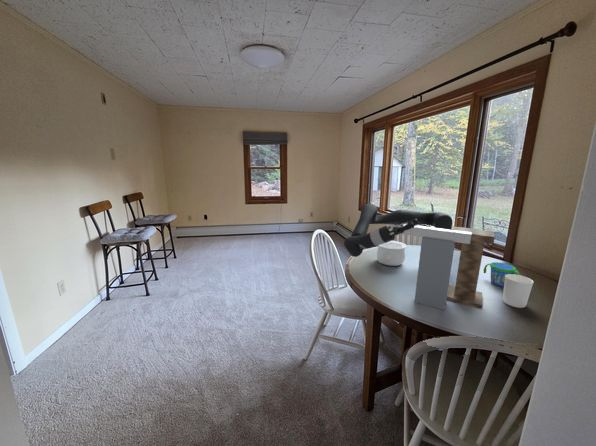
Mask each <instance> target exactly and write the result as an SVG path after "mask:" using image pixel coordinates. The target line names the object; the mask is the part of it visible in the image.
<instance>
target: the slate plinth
mask: <svg viewBox="0 0 596 446" xmlns="http://www.w3.org/2000/svg"><path fill="white" fill-rule="evenodd" d="M455 244H456V242H452V241H445V240H438V239H431V238H425V237H421V244H420V253H419V260H418V268H417V276H416V285H415V286H416V287H415V295H414V302H415V303H416V304H420V305H425V306H428V307H431V308H436V309H439V310H442V311H445V309H446V304H447V301H448V300H447V293H448V286H449V285H450V279H451V272H452V266H453V265H452V264H453V258H454V251H455Z"/></svg>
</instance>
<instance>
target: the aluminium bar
mask: <svg viewBox="0 0 596 446" xmlns="http://www.w3.org/2000/svg"><path fill="white" fill-rule="evenodd" d="M404 225H407V224H404ZM404 225H403V226H404ZM401 235H406V236H413V237H418V238H423V237H425V238H431V239H438V240H445V241H452V242H455V243H460V244H462V243H465V244H470V241H471V235H472V232H465V231H457V230H449V229H441V228H435V227H434V226H426V225H414V228H411V229H409V230H406V231H405V232H403V233H401Z"/></svg>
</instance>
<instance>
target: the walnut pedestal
mask: <svg viewBox="0 0 596 446" xmlns="http://www.w3.org/2000/svg"><path fill="white" fill-rule="evenodd" d="M451 230H457V231H465V232H472V235H471V241H470V244H465V243H461V248H460V255H459V259H458V260H459V261H458V267H457V272H456V280H455V285H450V284H449V286H448V293H447V300H446V301H452V302H455V303H460V304H463V305H467V306H471V307H474V308H479V309H483V292H480V291H477V287H478V282H479V281H478V280H479V276H480V270H481V264H482V259H483V253H484V246H485V244H491V245H494V242H495V239H496V238H495V233H494V230H489V229H487V230H485V229H479V228H478V229H477V228H469V227H462V226H454V225H452V228H451Z"/></svg>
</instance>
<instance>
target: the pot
mask: <svg viewBox="0 0 596 446" xmlns="http://www.w3.org/2000/svg"><path fill="white" fill-rule="evenodd" d="M377 246H378V247H377V251H376V259H377V261H378V262H379V263H380V264H382V265H385V266H393V267H394V266H396V267H397V266H400V265H402V264H404V261H405V259H406V251H405V249H406V248H407V244H406V243H404V242H401V241H397V240H392V241H389V242H387V243H384V244H381V245H377Z"/></svg>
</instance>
